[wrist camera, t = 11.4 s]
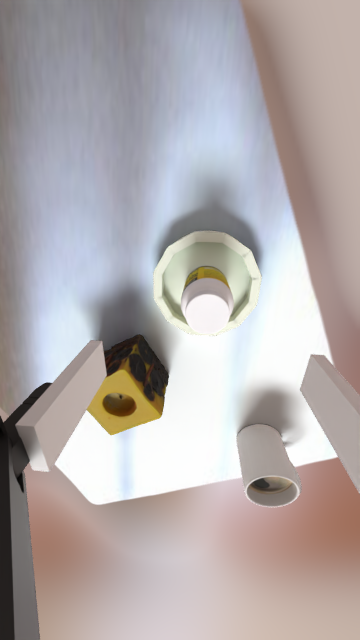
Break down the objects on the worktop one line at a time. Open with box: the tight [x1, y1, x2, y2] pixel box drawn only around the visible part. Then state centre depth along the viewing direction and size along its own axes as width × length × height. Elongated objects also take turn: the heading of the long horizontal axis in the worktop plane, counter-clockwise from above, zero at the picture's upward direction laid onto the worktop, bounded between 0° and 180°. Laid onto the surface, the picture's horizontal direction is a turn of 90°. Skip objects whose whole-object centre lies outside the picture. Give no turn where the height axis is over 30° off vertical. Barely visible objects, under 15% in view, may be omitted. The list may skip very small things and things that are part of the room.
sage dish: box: [153, 230, 262, 336], centre depth 33 cm, size 15×15×3 cm
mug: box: [237, 424, 301, 507], centre depth 43 cm, size 11×10×10 cm
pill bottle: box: [181, 265, 234, 334], centre depth 29 cm, size 6×6×11 cm
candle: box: [86, 335, 169, 435], centre depth 37 cm, size 10×10×10 cm
